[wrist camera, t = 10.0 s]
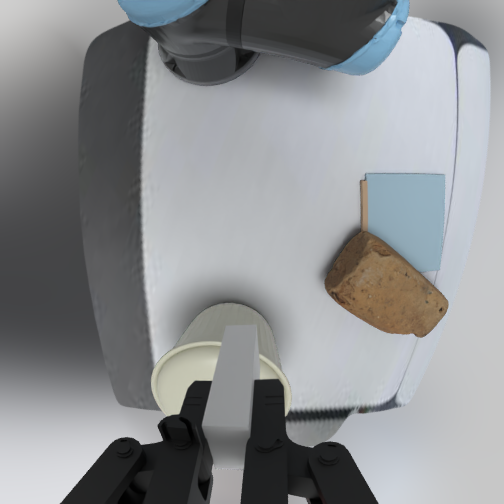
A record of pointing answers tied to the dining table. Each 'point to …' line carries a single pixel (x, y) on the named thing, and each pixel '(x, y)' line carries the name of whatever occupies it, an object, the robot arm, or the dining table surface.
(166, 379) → the canister
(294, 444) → the robot arm
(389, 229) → the book
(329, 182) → the dining table surface
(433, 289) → the pitted brown rock
